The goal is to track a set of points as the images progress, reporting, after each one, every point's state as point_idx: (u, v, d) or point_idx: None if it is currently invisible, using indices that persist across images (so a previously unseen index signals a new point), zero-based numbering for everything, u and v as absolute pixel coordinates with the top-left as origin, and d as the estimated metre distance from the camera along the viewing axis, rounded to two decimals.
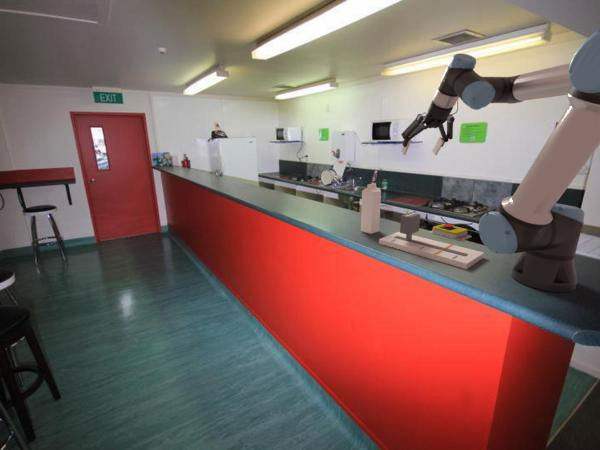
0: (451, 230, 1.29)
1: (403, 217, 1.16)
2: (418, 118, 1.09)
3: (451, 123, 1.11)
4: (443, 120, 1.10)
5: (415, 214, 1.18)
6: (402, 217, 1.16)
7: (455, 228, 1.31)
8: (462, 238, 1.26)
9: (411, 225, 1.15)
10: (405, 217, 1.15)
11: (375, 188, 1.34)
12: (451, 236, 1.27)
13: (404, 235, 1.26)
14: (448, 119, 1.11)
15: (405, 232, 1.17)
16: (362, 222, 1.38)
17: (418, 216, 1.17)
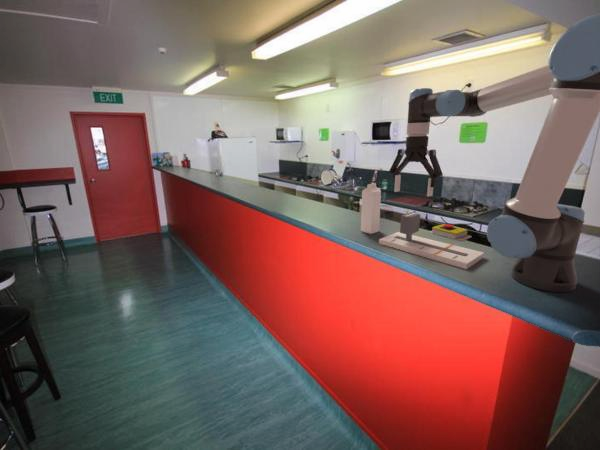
0: (451, 230, 1.29)
1: (403, 217, 1.16)
2: None
3: (430, 156, 1.06)
4: (421, 152, 1.08)
5: (415, 214, 1.18)
6: (402, 217, 1.16)
7: (455, 228, 1.31)
8: (462, 238, 1.26)
9: (411, 225, 1.15)
10: (405, 217, 1.15)
11: (375, 188, 1.34)
12: (451, 236, 1.27)
13: (404, 235, 1.26)
14: (428, 152, 1.07)
15: (405, 232, 1.17)
16: (362, 222, 1.38)
17: (418, 216, 1.17)
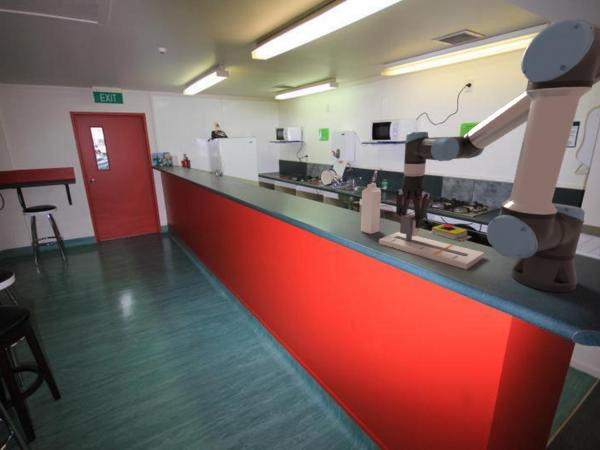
0: (450, 230, 1.28)
1: (403, 217, 1.16)
2: None
3: (423, 199, 1.11)
4: (417, 191, 1.12)
5: None
6: (402, 217, 1.16)
7: (455, 228, 1.31)
8: (462, 239, 1.26)
9: (411, 225, 1.15)
10: (405, 217, 1.15)
11: (375, 188, 1.34)
12: (451, 237, 1.26)
13: (404, 235, 1.26)
14: (423, 194, 1.11)
15: (405, 232, 1.17)
16: (362, 222, 1.38)
17: None
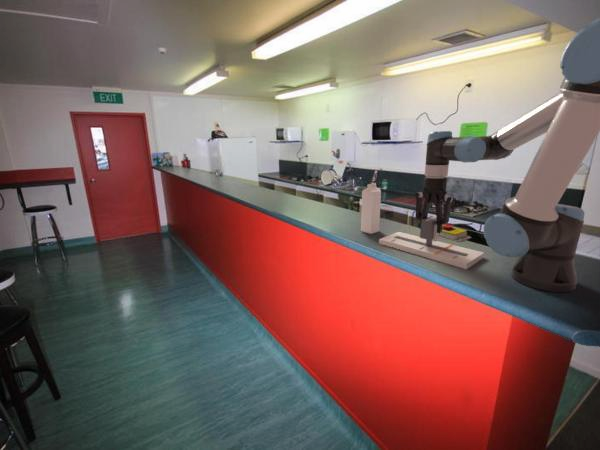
0: (450, 231, 1.28)
1: (424, 221, 1.10)
2: None
3: (446, 202, 1.04)
4: (439, 194, 1.06)
5: (436, 218, 1.11)
6: (423, 221, 1.10)
7: (454, 229, 1.30)
8: (461, 239, 1.25)
9: (432, 230, 1.09)
10: (426, 221, 1.09)
11: (375, 188, 1.34)
12: (450, 237, 1.26)
13: (404, 235, 1.26)
14: (446, 197, 1.05)
15: (426, 237, 1.10)
16: (362, 222, 1.38)
17: None
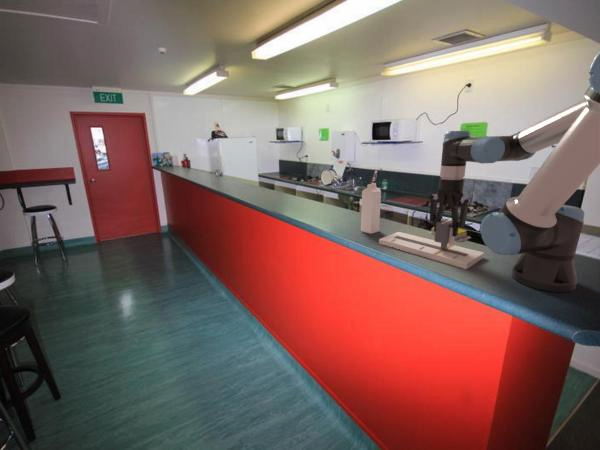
0: None
1: (439, 224, 1.06)
2: None
3: (463, 205, 1.00)
4: (456, 196, 1.02)
5: (451, 221, 1.07)
6: (438, 224, 1.06)
7: None
8: (461, 239, 1.25)
9: (448, 233, 1.05)
10: (441, 224, 1.05)
11: (375, 188, 1.34)
12: None
13: (404, 235, 1.26)
14: (462, 199, 1.01)
15: (441, 241, 1.06)
16: (362, 222, 1.38)
17: None
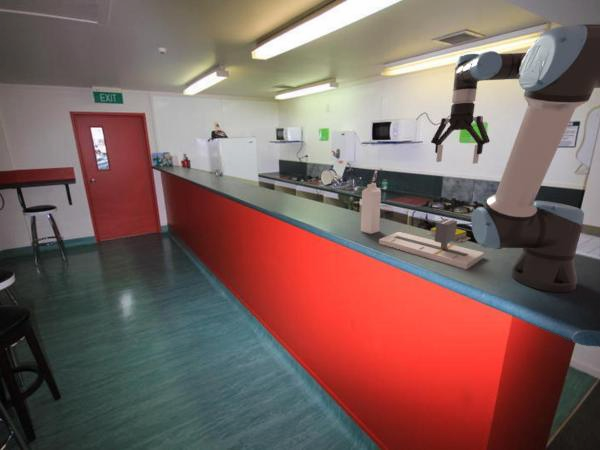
0: None
1: (439, 224, 1.06)
2: None
3: (478, 122, 1.06)
4: (467, 119, 1.09)
5: (451, 221, 1.07)
6: (438, 224, 1.06)
7: None
8: (461, 240, 1.24)
9: (448, 233, 1.05)
10: (441, 224, 1.05)
11: (375, 188, 1.34)
12: None
13: (404, 235, 1.26)
14: (474, 119, 1.07)
15: (441, 241, 1.06)
16: (362, 222, 1.38)
17: (455, 223, 1.07)
